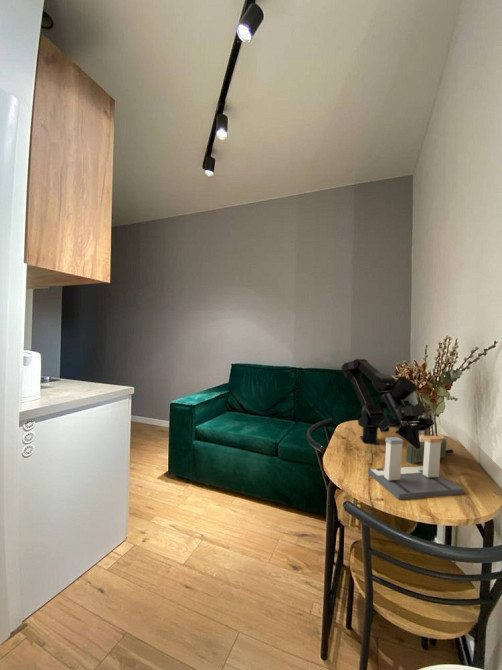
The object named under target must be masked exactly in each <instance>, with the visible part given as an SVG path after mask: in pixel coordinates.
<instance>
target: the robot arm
mask: <svg viewBox="0 0 502 670" xmlns="http://www.w3.org/2000/svg"><path fill="white" fill-rule="evenodd" d="M341 371H342V374H343V375H344V377H345V378H347V379H348V380H349V381H350V382H351V384H352V387H353V390H354V391H355V394H356V396H357V398H358V401H359V403H360V405H361V407H362V409H361V413H360V414H361V416H360V417H359V418H358V419H357V423H358V426H359V427H361V428H362V435H360V436H359V438H360V440H361V441H362V443H364V444H373V445H380V443H381V442H379V440H378V429H379V430H380V432H381V433H387V432H389V431H390V428H396V431H395V434H397V435H399V436H400V437H401V438H402V439H403V440H405V441H406V442H408V444H411V445H413V446H414V447H415V448H416V449H420V436H419V432H423V431H426V430H428V429H429V428H430V427H432V426H433V425H435V422H434V420H433V418H432V417H429V416H424V414H425V413H427V409H426V407H425V405H424V404H423V403H416V404H415V405H409V404H405V403H404V401H406V400H407V399H408V398H409V397H411V396H412V395H413V394H414V393H415V392H416V390H417V386H416V383H414V382H413V381H412V380H410V379H408V378H407V376H402V375H401V376H399V377H398V379H397V380H396V379H395V378H394V377H393V376H390V375H387V374H384V373H382V372H380V371H379V370H378V369H377V368H375V367H374V366H373V365H372V364H370V363H369V362H368V360H367V359H364V358H356V359H354V360H351V361H347V362H344V363H343V364H342V365H341ZM362 374H364V375H365V376H366V377H367V378H368V379H369V380H371V383H372V386H373V388H374V390H376V391H377V392H378V393H381V392H382V393H384V394H381V397H380V402H381V403H382V402H385V405H386V406H387V408H388V410H389V411H388V415H389V416H392V417H386V416H385V411H383V407H382V406H381V405H380V404H375V403H374V401H373V399H372V396H371V394H370V392H369V391H368V389H367V387H366V386H367V385H365V382H364V380H363V378H362ZM417 416H418V417H419V418H417Z"/></svg>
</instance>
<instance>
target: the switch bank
mask: <svg viewBox="0 0 502 670" xmlns="http://www.w3.org/2000/svg"><path fill="white" fill-rule="evenodd" d="M384 471H385V467H382V468H381V467H380V468H379V467H378V468H369V469H368V470H367V472H368V475H369V476H370V477H371V478H373V479H374V480H375V481H376V482H378V484H379V485H380V486H382V487H383V488H384V489H386V490H387V491H388V492H389V493H390V494H391V495H393V497H394V498H396V499H397V500H409V499H422V498H431V497H442V496H452V495H453V496H454V495H463V494H464V491H465V490H464V488H463V487H461V486H460V485H458V484H457V483H455V482H453V481H452V480H450V479H448V478H446V477H445V476H443V475H442V474H441V473H439V477H429V478H428V477H426V476H425V475H423V465H413V466H412V465H411V466H401V474H400V480H387V479H386V478H385V477H384Z"/></svg>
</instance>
